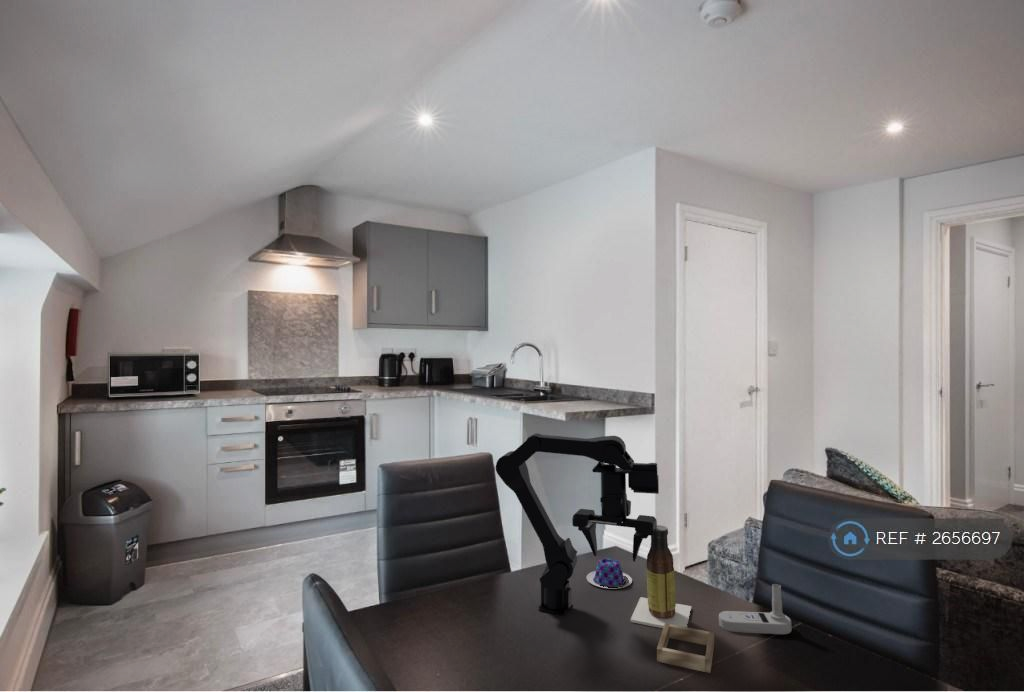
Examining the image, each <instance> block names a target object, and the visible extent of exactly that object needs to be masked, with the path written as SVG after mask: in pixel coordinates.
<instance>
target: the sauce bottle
mask: <svg viewBox="0 0 1024 692" xmlns="http://www.w3.org/2000/svg"><path fill="white" fill-rule="evenodd" d="M668 534H669V528H668V527H667V526H665V525H661V524H660V525H659V524H657V529H656V531H655V533H654V534H653V535H651V536H650V548H649V550H648V553H647V555H646V587H647V588H646V589H647V591H646V592H647V598H648V606H649V612H650V613H651V614H652V615H654V616H656V617H661V618H670V617H672V616H674V615H675V607H676V604H677V603H676V586H675V584H676V582H675V566H674V557H673V554H672V552H671V550H670V548H669V543H668Z"/></svg>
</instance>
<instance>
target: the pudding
mask: <svg viewBox="0 0 1024 692" xmlns="http://www.w3.org/2000/svg"><path fill="white" fill-rule="evenodd" d="M623 576H626V577H627V578H628V580H629V583H628V584H627V585H625V586H623V587H619V586H618V585H621V584H622V583H623V582H625V580H624V577H623ZM586 580H587V582H588V583H590V584H591V585H593V586H596V587H599V588H602V589H616V590H617V589H622V588H623V589H624V588H626V587H628V586H630V585H631V584H632V582H633V578H632V577H631V576H630V575H629V574H627V573H625V572H623V569H622V565H621V563H620V562H619V560H618V559H614V558H606V557H605V558H602V559H599V560H598V563H597V565H596V570H593V571H590V572H589V573H588V574H587V575H586ZM623 584H624V583H623ZM623 584H622V585H623ZM600 585H606V586H604V587H603V586H600ZM622 585H621V586H622ZM607 586H609V587H611V586H614V587H618V588H608V587H607Z"/></svg>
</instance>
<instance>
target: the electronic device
mask: <svg viewBox="0 0 1024 692" xmlns="http://www.w3.org/2000/svg"><path fill="white" fill-rule="evenodd" d="M771 594H772V595H771V597H772V598H771V609H772V610H771V611H770V612H764V611H763V612H762V611H761V612H760V611H735V610H734V611H733V610H723V611H721V612H719V614H718V625H719V627H720V626H721V627H722V628H721V627H720V628H721V629H723V630H725V631H727V632H731V633H733V632H734V633H747V634H761V635H762V634H764V635H765V634H766V635H770V634H771V635H787V634H790V633H792V620H791V618H790V617H789V616H787V615H786V614H784V613H783V600H782V586H781V585H780V584H777V583H775V584H774V583H772V585H771Z"/></svg>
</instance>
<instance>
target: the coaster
mask: <svg viewBox="0 0 1024 692" xmlns="http://www.w3.org/2000/svg"><path fill="white" fill-rule="evenodd" d="M690 611H691V612H692V605H687V604H682V603H676V607H675V615H674V616H672V617H670V618H661V617H656V616H654V615H652V614H651V613H650V612H649V606H648V597H642V596H640V598H639V599H638V602H637V604H636V606H635V609H634V610H633V613H632V615H631V617H630V623H633V624H634V623H635V624H639V625H644V626H649V627H653V628H659V629H663V628H664V625H665V623H667V624H672V625H678V626H683V627H688V625H689V620H690V617H689V616H691V613H690ZM687 624H688V625H687Z"/></svg>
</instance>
